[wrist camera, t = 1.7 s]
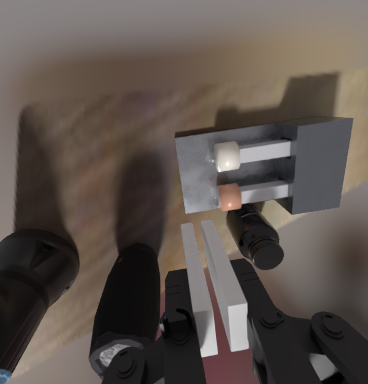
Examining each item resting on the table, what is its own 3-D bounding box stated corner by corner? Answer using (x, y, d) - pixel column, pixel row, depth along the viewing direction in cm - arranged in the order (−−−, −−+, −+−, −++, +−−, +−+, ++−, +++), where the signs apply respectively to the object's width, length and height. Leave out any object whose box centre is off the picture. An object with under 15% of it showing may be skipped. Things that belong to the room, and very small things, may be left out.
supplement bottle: (244, 195, 41) (274, 229, 30) (265, 216, 43) (300, 255, 32) (218, 219, 43) (237, 260, 31) (240, 238, 45) (265, 282, 34)
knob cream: (214, 167, 37) (221, 175, 32) (212, 141, 35) (219, 146, 31) (289, 156, 37) (305, 162, 33) (290, 130, 35) (307, 133, 31)
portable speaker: (109, 246, 43) (69, 349, 24) (156, 237, 43) (150, 333, 25) (121, 278, 46) (93, 391, 28) (164, 270, 46) (165, 377, 28)
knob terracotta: (217, 204, 39) (224, 216, 35) (216, 182, 38) (222, 191, 33) (287, 193, 40) (301, 203, 36) (288, 170, 38) (303, 178, 34)
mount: (185, 211, 41) (189, 231, 35) (174, 137, 36) (176, 144, 29) (312, 191, 42) (339, 207, 35) (319, 115, 37) (353, 118, 30)
